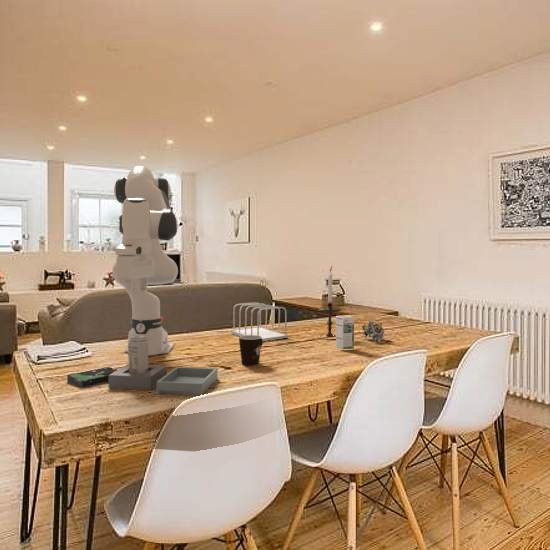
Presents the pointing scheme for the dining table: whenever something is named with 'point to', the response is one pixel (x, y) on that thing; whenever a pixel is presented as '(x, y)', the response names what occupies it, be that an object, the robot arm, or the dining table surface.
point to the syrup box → (345, 332)
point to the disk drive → (91, 377)
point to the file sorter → (259, 331)
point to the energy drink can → (138, 354)
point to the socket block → (136, 378)
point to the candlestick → (329, 306)
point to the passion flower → (374, 331)
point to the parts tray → (187, 381)
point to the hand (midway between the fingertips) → (137, 292)
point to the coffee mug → (250, 349)
